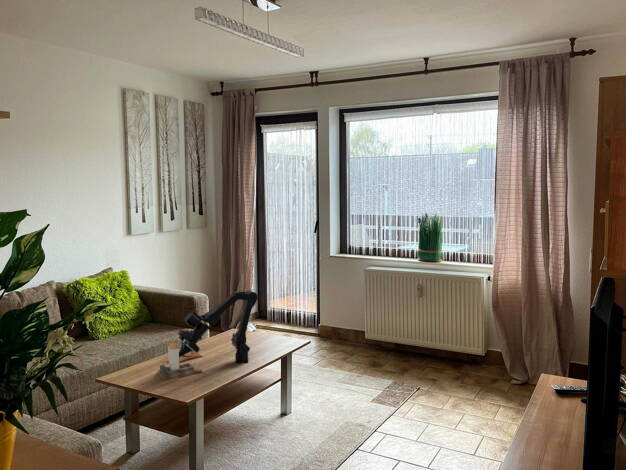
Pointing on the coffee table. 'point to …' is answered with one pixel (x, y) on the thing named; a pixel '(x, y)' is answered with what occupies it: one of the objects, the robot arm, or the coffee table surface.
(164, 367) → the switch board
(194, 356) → the sunglasses case
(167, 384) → the coffee table surface
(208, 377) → the coffee table surface
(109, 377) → the coffee table surface
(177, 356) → the white tall boxy piece
